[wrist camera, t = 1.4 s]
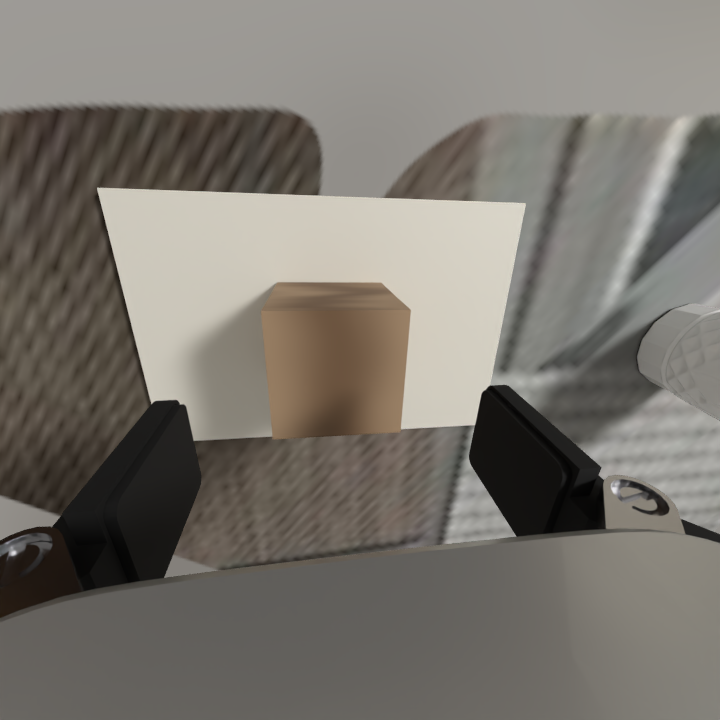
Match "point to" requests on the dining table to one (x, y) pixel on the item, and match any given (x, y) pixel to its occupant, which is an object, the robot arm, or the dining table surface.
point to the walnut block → (335, 358)
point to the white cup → (685, 355)
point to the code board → (306, 264)
